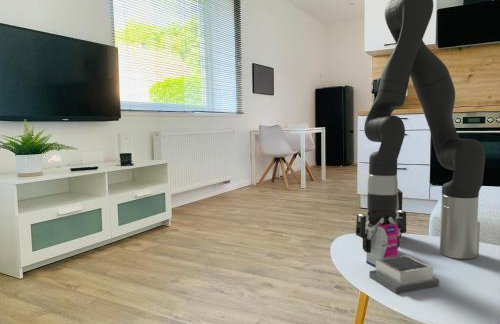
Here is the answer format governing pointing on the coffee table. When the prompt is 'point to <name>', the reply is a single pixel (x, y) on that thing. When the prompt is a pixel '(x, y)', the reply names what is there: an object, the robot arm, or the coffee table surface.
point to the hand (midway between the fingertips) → (380, 250)
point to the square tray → (403, 274)
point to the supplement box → (383, 243)
